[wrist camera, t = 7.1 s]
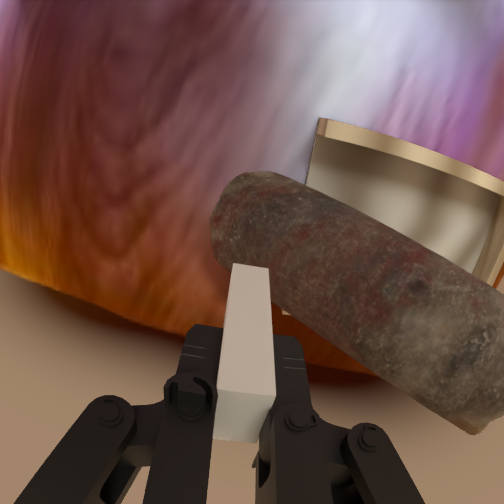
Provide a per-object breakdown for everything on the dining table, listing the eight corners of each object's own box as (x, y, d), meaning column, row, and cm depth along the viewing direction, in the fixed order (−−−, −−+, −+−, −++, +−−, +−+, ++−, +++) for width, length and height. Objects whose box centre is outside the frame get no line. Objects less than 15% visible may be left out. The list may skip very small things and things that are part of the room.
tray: (280, 293, 27) (282, 314, 25) (319, 117, 20) (328, 119, 18) (457, 311, 28) (469, 327, 26) (508, 184, 22) (527, 194, 19)
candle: (295, 172, 23) (539, 307, 12) (267, 256, 26) (475, 397, 14) (220, 161, 17) (564, 360, 6) (192, 270, 20) (458, 474, 9)
